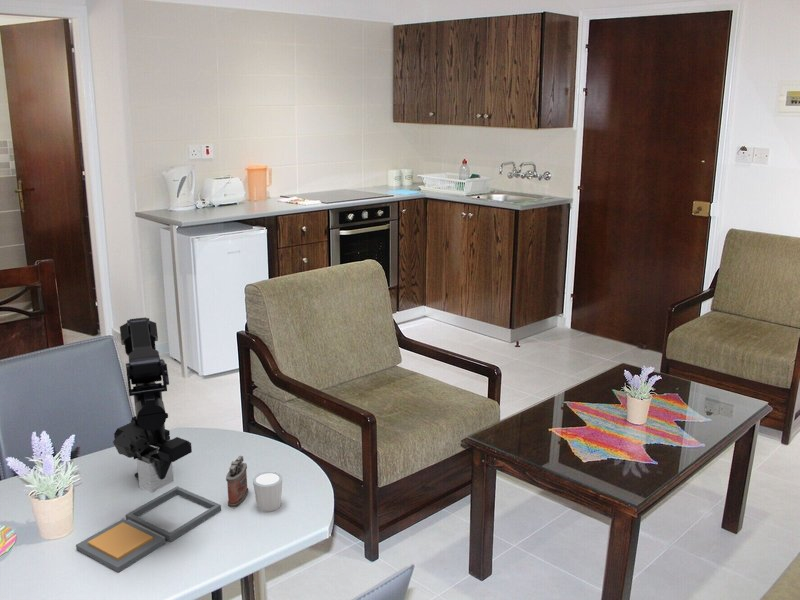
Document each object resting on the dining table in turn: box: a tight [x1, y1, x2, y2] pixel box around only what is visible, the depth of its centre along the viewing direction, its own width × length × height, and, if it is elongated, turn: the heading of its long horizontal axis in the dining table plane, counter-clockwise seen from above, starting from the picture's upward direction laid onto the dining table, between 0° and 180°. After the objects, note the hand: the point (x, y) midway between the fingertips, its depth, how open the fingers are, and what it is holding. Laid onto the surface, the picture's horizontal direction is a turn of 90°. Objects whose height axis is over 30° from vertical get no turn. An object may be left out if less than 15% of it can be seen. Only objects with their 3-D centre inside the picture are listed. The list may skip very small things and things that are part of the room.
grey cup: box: [252, 471, 283, 513], centre depth 179 cm, size 7×7×7 cm
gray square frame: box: [124, 486, 222, 543], centre depth 176 cm, size 15×15×2 cm
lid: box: [75, 518, 166, 573], centre depth 164 cm, size 14×13×2 cm
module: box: [136, 449, 174, 494], centre depth 168 cm, size 4×6×8 cm, turn 148°
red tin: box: [225, 455, 249, 509], centre depth 182 cm, size 8×3×10 cm, turn 168°
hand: (155, 476), depth 169 cm, fingers closed on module, 4 cm apart
